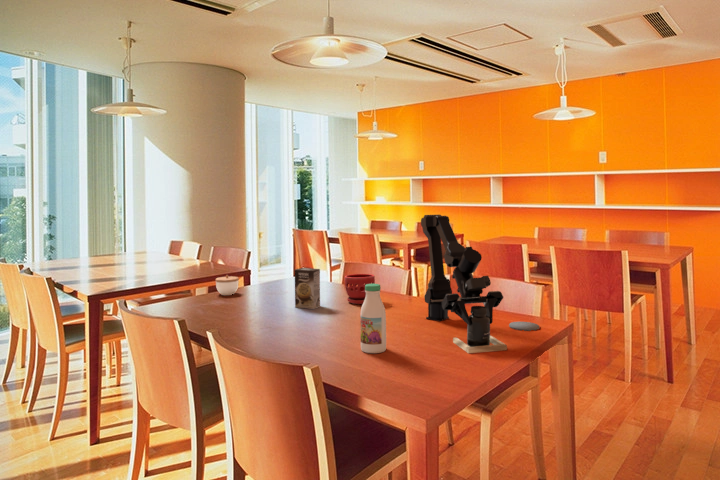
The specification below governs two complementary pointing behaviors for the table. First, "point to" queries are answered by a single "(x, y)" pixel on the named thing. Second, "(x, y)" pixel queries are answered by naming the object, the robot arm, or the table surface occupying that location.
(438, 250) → the robot arm
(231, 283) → the lidded jar
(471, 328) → the supplement bottle
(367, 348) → the milk bottle
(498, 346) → the pocket
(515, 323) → the coaster
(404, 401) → the table surface
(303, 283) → the coffee box
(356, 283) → the plant pot
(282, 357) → the table surface
